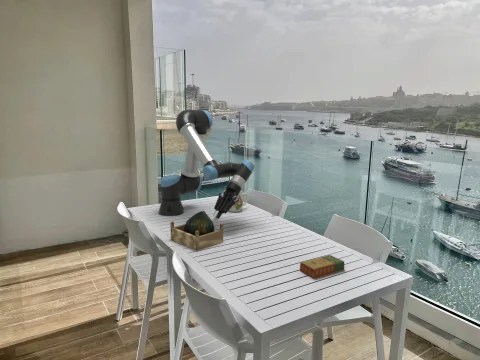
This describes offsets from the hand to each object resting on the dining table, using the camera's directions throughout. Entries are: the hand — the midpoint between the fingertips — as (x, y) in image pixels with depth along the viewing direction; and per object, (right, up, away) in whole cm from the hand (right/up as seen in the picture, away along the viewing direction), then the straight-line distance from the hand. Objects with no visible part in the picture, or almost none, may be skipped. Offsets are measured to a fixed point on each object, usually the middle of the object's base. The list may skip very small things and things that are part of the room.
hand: (212, 222), depth 175 cm
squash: (-6, -8, -4) cm, 11 cm away
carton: (+46, -15, -37) cm, 61 cm away
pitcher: (+11, +2, +49) cm, 50 cm away
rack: (-7, -8, -5) cm, 12 cm away
